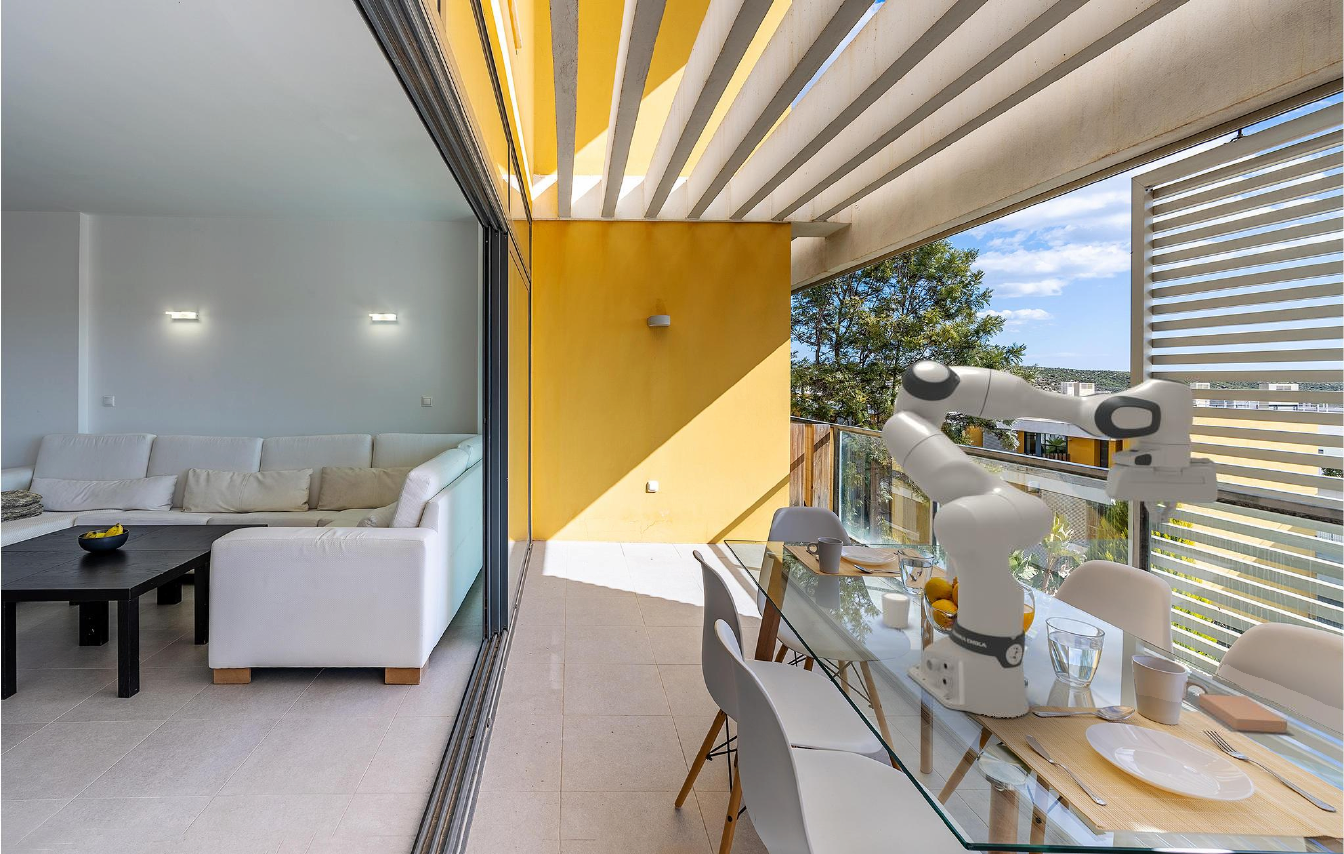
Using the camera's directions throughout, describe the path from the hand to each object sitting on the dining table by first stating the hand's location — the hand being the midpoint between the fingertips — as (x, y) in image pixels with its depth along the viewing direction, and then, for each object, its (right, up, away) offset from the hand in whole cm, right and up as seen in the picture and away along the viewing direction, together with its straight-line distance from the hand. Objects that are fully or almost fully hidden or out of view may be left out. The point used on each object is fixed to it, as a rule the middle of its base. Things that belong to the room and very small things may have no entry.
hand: (1159, 522), depth 136 cm
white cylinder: (-46, -29, +26) cm, 60 cm away
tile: (-1, -30, -16) cm, 34 cm away
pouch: (-24, -29, +36) cm, 52 cm away
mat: (-1, -32, -18) cm, 37 cm away
